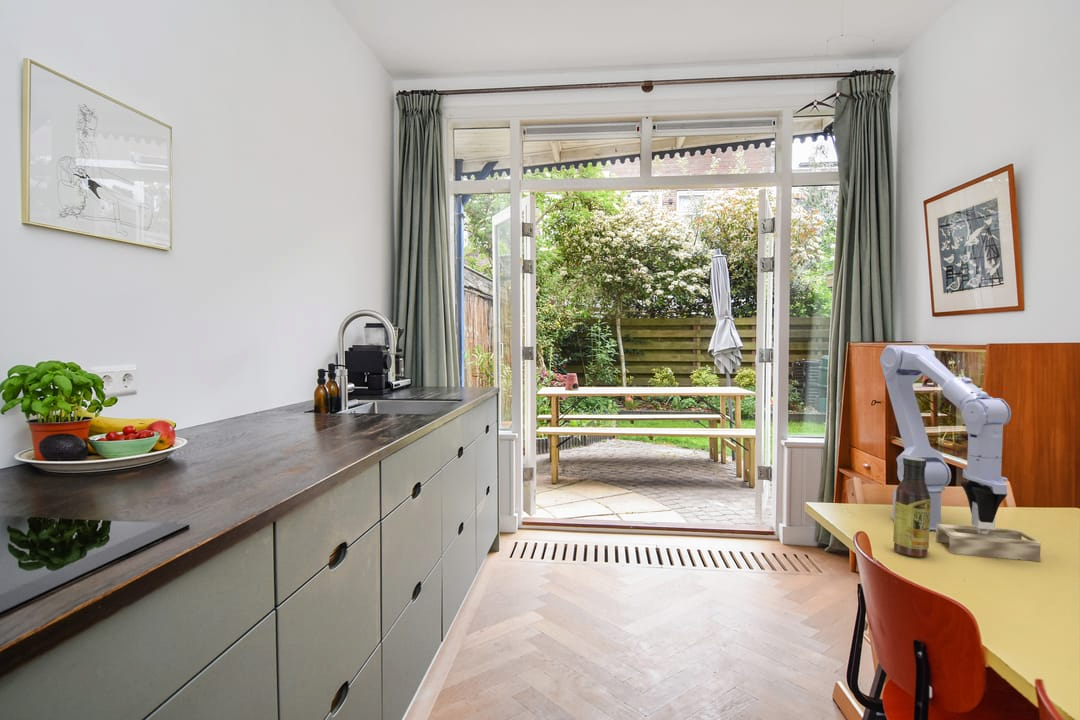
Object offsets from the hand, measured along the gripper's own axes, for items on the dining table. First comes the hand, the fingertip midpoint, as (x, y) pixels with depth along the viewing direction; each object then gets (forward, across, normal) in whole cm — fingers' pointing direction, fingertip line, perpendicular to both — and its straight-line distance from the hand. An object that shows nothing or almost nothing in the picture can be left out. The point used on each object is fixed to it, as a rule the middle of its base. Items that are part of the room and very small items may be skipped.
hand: (982, 519), depth 121 cm
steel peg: (+6, 0, 0) cm, 6 cm away
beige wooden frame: (+7, 0, -1) cm, 7 cm away
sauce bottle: (+7, -6, +15) cm, 18 cm away
